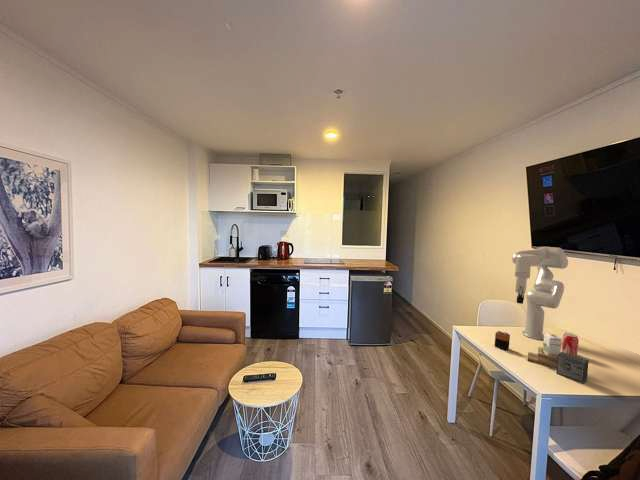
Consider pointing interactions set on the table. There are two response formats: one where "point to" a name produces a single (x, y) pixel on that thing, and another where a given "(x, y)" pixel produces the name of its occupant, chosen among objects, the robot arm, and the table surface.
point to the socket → (543, 358)
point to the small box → (572, 367)
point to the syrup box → (551, 345)
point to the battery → (502, 340)
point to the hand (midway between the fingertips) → (520, 301)
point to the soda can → (570, 343)
